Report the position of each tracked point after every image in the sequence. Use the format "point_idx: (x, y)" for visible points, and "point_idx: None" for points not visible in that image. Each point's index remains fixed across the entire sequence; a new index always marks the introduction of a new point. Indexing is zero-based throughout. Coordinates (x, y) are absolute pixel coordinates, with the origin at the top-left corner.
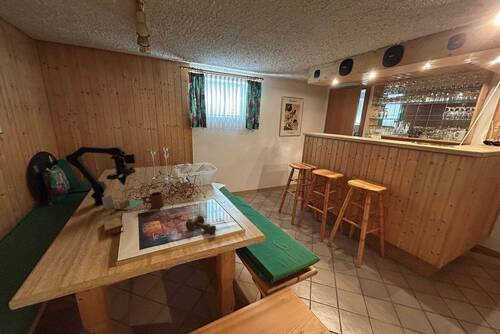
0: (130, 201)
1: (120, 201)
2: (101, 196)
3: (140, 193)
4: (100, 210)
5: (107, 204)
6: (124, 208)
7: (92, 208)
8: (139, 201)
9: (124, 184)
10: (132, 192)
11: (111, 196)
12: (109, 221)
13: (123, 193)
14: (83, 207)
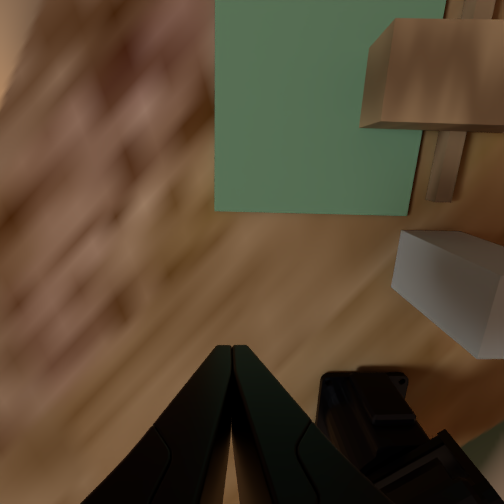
0: (266, 144)
1: (494, 91)
2: (411, 440)
3: (20, 231)
4: None
5: (501, 246)
6: (484, 13)
7: (454, 378)
8: (237, 8)
9: (225, 348)
10: (44, 347)
11: (500, 273)
12: None
13: (108, 410)
14: None
